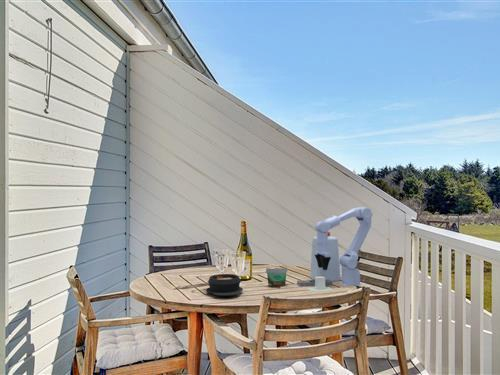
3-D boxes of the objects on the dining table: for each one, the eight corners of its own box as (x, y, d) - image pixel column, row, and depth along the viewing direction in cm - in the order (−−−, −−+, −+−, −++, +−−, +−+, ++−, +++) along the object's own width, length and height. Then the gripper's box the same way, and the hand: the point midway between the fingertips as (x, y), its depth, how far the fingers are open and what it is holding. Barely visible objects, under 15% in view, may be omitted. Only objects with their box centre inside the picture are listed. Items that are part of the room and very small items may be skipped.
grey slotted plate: (328, 283, 217) (328, 278, 217) (332, 286, 211) (332, 280, 211) (297, 285, 215) (297, 279, 215) (300, 287, 209) (300, 281, 209)
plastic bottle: (308, 278, 234) (307, 231, 235) (330, 276, 238) (330, 230, 239) (319, 283, 219) (318, 233, 220) (343, 281, 223) (342, 232, 224)
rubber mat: (328, 287, 208) (328, 286, 208) (334, 291, 200) (334, 290, 200) (307, 288, 206) (307, 287, 206) (311, 292, 198) (311, 291, 198)
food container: (269, 288, 206) (269, 269, 207) (265, 286, 212) (265, 267, 213) (291, 287, 210) (290, 268, 210) (287, 284, 216) (286, 266, 216)
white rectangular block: (323, 288, 205) (323, 276, 205) (325, 289, 202) (325, 277, 202) (315, 288, 204) (315, 276, 205) (316, 289, 201) (316, 277, 202)
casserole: (204, 288, 207) (204, 272, 208) (238, 287, 211) (238, 271, 211) (208, 300, 183) (208, 282, 183) (247, 298, 186) (247, 280, 187)
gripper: (311, 242, 219) (311, 266, 219) (319, 245, 205) (319, 271, 204) (323, 242, 220) (323, 266, 220) (332, 245, 206) (332, 270, 205)
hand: (322, 268), depth 212 cm, fingers open, 7 cm apart
